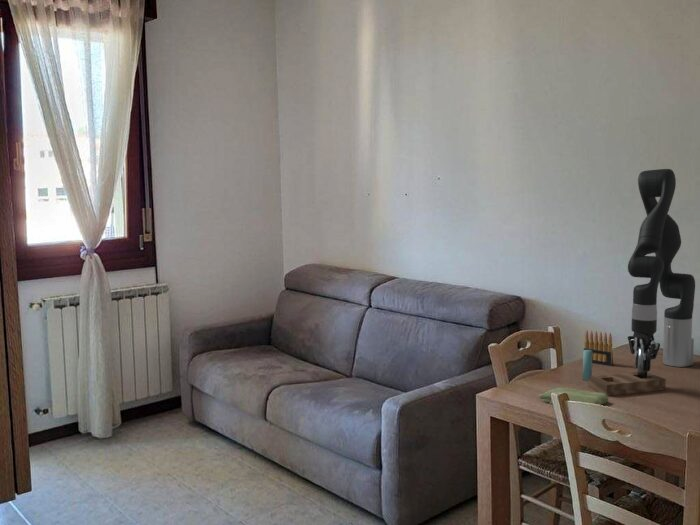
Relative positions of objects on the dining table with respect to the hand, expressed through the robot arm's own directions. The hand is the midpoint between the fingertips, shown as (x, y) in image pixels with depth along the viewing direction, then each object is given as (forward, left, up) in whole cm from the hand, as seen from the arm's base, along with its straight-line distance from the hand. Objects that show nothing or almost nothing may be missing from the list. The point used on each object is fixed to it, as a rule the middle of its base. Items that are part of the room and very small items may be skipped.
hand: (642, 369), depth 235 cm
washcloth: (+30, +7, -7) cm, 31 cm away
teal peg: (+12, -13, -6) cm, 19 cm away
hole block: (+6, 0, -6) cm, 8 cm away
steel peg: (0, 0, -3) cm, 3 cm away
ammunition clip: (-4, -31, -6) cm, 32 cm away
